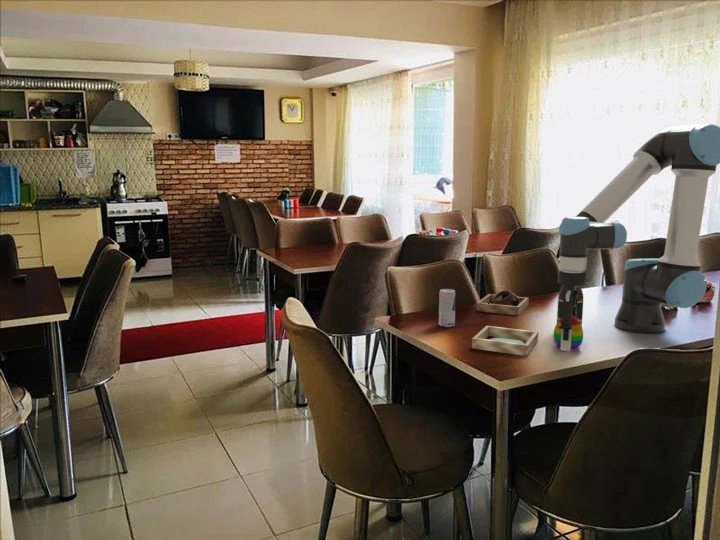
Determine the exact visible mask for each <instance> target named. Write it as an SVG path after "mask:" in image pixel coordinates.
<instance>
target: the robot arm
mask: <svg viewBox="0 0 720 540" xmlns="http://www.w3.org/2000/svg"><path fill="white" fill-rule="evenodd" d="M719 164H720V126H718V125H716V124H712V123H711V124H710V123H709V124H708V123H707V124H706V123H698V124H690V125H689V124H688V125H681V126H677V125H676V126H670V127H668V128H666V129H663V130H662V131H660V132H658V133H657V134H655V135H654V136H652V137H651V138H650V139H648V140H647V141H646V142H645V143H644V144H643V145H642V146H641V147H639V148H638V149H637V150H636V152H635V153H633V159H632V160H631V161H630V162H629V163H628V164H627V165H626V166H625V167H624V168H623V169H622V170H621V171H620V172H619V173H618V174H617V175H616V176H615V177H614V178H613V179H612V180H611V181H610V182H609V183H608V184H607V185H606V186H605V187H604V188H603V189H602V190H601V191H600V192H599V193H598V194H597V195H595V197H594V198H593V199H592V200H591V201H590V202H588V204H587V205H586V206H585V207H584V208H583V209H582V210H581V211H579V213H578V214H577V215H576V216H565V217H563V219H561V223H560V224H559V227H558V234H559V238H560V239H559V258H557V259H556V262H559V263H558V269H559V271H558V275H557V283H558V284H559V285H561V286H563V285H565V286H566V289H564V291H563V307H562V319H561V326H559V329H562V330H561V347H560V348H559V349H560V351H563V352H571V351H572V350H571V334H572V329H571V324H572V315H573V316H575V317H576V318H577V302H578V294H579V290H578V289H579V288H578V287H577V286H580V287H581V286H585V285H586V278H587V273H586V272H585V271H586V270H587V269H588V267H587V265H588V264H587V263H588V250H589V251H590V250H614V249H621V248H623V246H624V245H625V244H626V242H627V239H628V237H627V236H628V232H627V228H626V227H625V226H624V224H622V223H619V222H607V221H608V220H609V219H610V217H612V215H614V214H615V212H617V211H618V210H619V209H620V207H622V206H623V205H624V203H626V202H627V201H628V200H629V199H630V198H631V197H632V196H633V195H634V194H635V193H636V192H637V191H638V190H639V189H640V188H641V187H642V186H643V185H644V184H645V183H646V182H647V181H648V180H649V179H650V178H651V177H653V176H657V175H659V174H660V173H661V172H662V171H663V170H664V169H666V168H669V167H671V168H670V170H671V172H672V173H673V174H674V175H675V178H674V179H675V180H674V186H673V192H672V200H671V208H670V214H669V219H668V225H667V226H668V227H667V233H666V239H665V247H664V253H663V256H661V257H659V258H654V257H653V258H630V259H627V260H626V261H625V263H624V267H623V281H622V282H623V283H622V296H621V304H620V306H619V309H618V311H617V313H616V315H615V317H614V326H615V327H616V328H618V329H620V330H625V331H628V332H632V333H633V332H635V333H643V334H657V333H662V332H664V331H665V328H666V321H665V318H664V314H663V310H662V306H661V305H662V304H665V305H668V306H671V307H673V308H674V307H676V308H680V309H687V308H691V307H693V306H695V305H697V303H699V302H701V300H703V297H704V296H705V294H706V292H707V289H708V288H707V287H708V281H707V279H706V276H705V275H704V274H703V273H702V272H701V266H702V265H701V263H700V262H699V261H698V260H697V254H698V248H699V241H700V236H701V229H702V221H703V215H704V209H705V204H706V203H705V201H706V197H707V191H708V190H707V189H708V185H709V184H708V183H709V178H710V177H712V176H713V175H714V174H716V170H717V166H718V165H719ZM577 319H578V320H579V318H577ZM566 324H568V325H566Z"/></svg>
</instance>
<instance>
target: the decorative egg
mask: <svg viewBox="0 0 720 540" xmlns="http://www.w3.org/2000/svg"><path fill="white" fill-rule="evenodd" d="M561 319H562V318H560V320H559V321H558V322H557V321H556V324H555V326H554V329H553V340H554V342H555V343H554V344H555V345H556V347H557V348H559V349H560V347H561V330H562V329H559V326H561ZM566 325H568V324H566ZM571 329H572V334H571V350H570V351H575V350H577V349H578V348H580V346H581V345H582V343H583V339H584V330H583V325H582V326H581V324H580V322H579V320H578V319H577V318H576V317H575V316H573V315H572V324H571Z"/></svg>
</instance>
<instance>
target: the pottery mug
mask: <svg viewBox="0 0 720 540" xmlns="http://www.w3.org/2000/svg"><path fill="white" fill-rule="evenodd" d="M494 295H495V296H494V302H493V304H498V305H508V306H518V305H519V304H520V302H519V299H518V297H519V296H517V295H516V294H515V293H514V292H512V290H510V289H504V290H501V291H499V292H497V293H496V294H494ZM500 296H501V297H502V299H503V300H496V299H497V298H498V297H500ZM510 303H511V304H510Z"/></svg>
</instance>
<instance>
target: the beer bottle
mask: <svg viewBox="0 0 720 540" xmlns="http://www.w3.org/2000/svg"><path fill="white" fill-rule="evenodd" d="M577 287H578V288H579V289H578V290H579V294H578V302H577V318H579V322H580V324H581V326H582V327H583V313H584V293H583V290H582V288H581V286H577ZM564 289H566V286H565V285H561V287H560V289H559V291H558V297H557V311H556V314H557V315H556V323H557V322H558V321H559V320H560V318H562V307H563V291H564Z"/></svg>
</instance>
